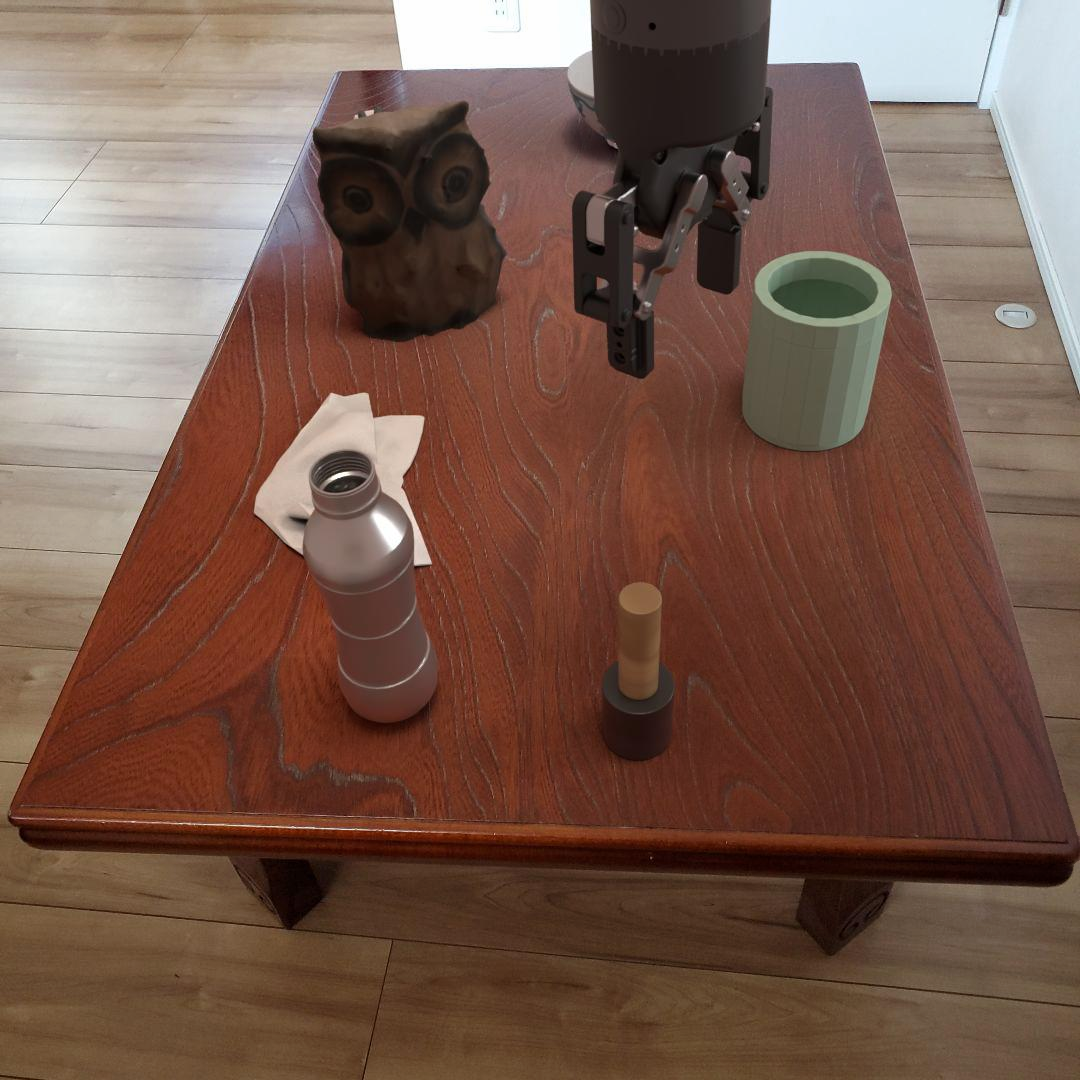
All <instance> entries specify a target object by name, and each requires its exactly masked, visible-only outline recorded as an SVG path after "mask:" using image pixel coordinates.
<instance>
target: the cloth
mask: <svg viewBox="0 0 1080 1080" xmlns="http://www.w3.org/2000/svg"><path fill="white" fill-rule="evenodd" d="M373 414H374V413H373V411H372V406H371V401H370V395H369V392H368V393H367V392H360V393H359V392H358V393H355V394H350V395H346V396H344V395H341V394H337V393H333V392H330V393H329V395H327V397H326V398H325V400H324V401H323V403H322V404H321V406H320V407H319V408H318V409H317V411H316V412H315V414H314V415H313V416H312V418H311V419H310V420H309V421H308V423H306V424H305V426H304V427H303V428H302V429H301V430H300V431H299V432H298V434H297V435H296V437H295V438H294V440H293V441H292V443H290V445H289V447H288V448H287V449H286V450H285V452H284V453H283V454H282V456H281V457H280V458H279V459H278V461H277V462H276V464H275V465H274V467H273V469H272V470H271V472H270V474H269V475H268V477H267V478H266V479H265V481H264V482H263V484H262V485H261V486H260V487H259V489H258V492H257V494H256V495H255V500H254V501H255V502H254V509H253V514H254V515H255V516H257V517H258V518H259V519H260V520H262V521H263V522H264V523H265V524H266V525H267V526H268V527H269V528H270V530H271V531H273V533H274V534H275V535H277V537H278V538H280V540H281V541H282V542H283V543H285V544H286V545H288V546H289V547H291V548H292V549H294V550H295V551H296V552H298V553H299V554H301V555H302V556H303V548H302V547H303V538H304V530H305V527H306V524H307V522H308V520H309V518H310V516H311V514H312V512H313V511H314V509H315V507H314V505H313V502H312V497H311V492H312V491H311V488H310V485H309V471H310V469H311V467H312V465H313V464H314V463H315V462H316V461H317V460H318V459H319V458H321V457H322V456H324V455H325V454H327V453H330V452H333V451H336V450H341V449H354V450H359V451H362V452H364V453H366V454H367V455H368V456H369V457H370V458H371V459H372V461H373V463H374V465H375V469H376V474H377V476H378V478H379V480H380V484H381V488H382V492H384V493H385V494H387V495H388V496H390V497H391V498H393V499H394V500H396V501H397V502H398V503H399V504H400V505H401V506H402V507H403V509H404V510H405V512H406V514H407V515H408V517H409V519H410V521H411V523H412V526H413V531H414V567H419V566H432V565H433V562H432V560H431V557H430V554H429V552H428V549H427V546H426V543H425V541H424V538H423V535H422V532H421V530H420V527H419V525H418V523H417V521H416V517H415V516H414V513H413V510H412V508H411V506H410V503H409V500H408V497H407V493H406V492H405V490H404V489H403V488H402V487H403V484H404V476H405V474H406V473H407V471H408V470H409V469H410V468H411V466H412V464H413V462H414V459H415V457H416V455H417V453H418V450H419V446H420V443H421V439H422V436H423V432H424V424H425V419H426V417H425V416H423V415H419V414H418V415H407V414H406V415H405V414H404V415H397V414H396V415H395V414H394V415H384V416H378V417H377V416H376V417H374V415H373Z"/></svg>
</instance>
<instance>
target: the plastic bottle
mask: <svg viewBox="0 0 1080 1080" xmlns="http://www.w3.org/2000/svg"><path fill="white" fill-rule="evenodd" d="M309 485H310V488H311V491H312V492H311V497H312V502H313V505H314V507H315V509H314V511H313V512H312V514H311V516H310V518H309V520H308V522H307V524H306V527H305V530H304V538H303V547H302V548H303V555H302V556H303V558H304V560H305V563H306V566H307V569H308V571H309V573H310V575H311V577H312V579H313V580H314V583H315V585H316V586H317V589H318V590H319V592H320V594H321V596H322V598H323V600H324V603H325V606H326V608H327V611H328V614H329V616H330V620H331V623H332V625H333V629H334V635H335V642H336V649H337V662H336V667H337V679H338V684H339V685H338V686H339V689H340V691H341V693H342V695H343V697H344V699H345V700H346V702H347V704H348V705H349V707H350V708H351V709H352V710H353V712H355V713H356V714H357V715H358V716H360V717H361V718H363V719H365V720H368V721H371V722H376V723H381V724H392V723H398V722H401V721H405V720H407V719H409V718H411V717H413V716H414V715H416V714H417V713H419V711H420V710H422V709H423V708H424V707H425V706H426V705H427V704H428V703H429V701H430V700H431V699H432V697H433V695H434V693H435V691H436V689H437V685H438V673H439V660H438V656H437V652H436V650H435V647H434V644H433V642H432V640H431V638H430V636H429V634H428V632H427V631H426V628H425V625H424V622H423V619H422V615H421V613H420V609H419V606H418V599H417V590H416V582H415V566H414V531H413V526H412V523H411V521H410V519H409V517H408V515H407V514H406V512H405V510H404V509H403V507H402V506H401V505H400V504H399V503H398V502H397V501H396V500H394V499H393V498H391V497H390V496H388V495H387V494H385V493H384V492H382V488H381V484H380V480H379V478H378V476H377V474H376V469H375V465H374V463H373V461H372V459H371V458H370V457H369V456H368V455H367V454H366V453H364V452H362V451H359V450H354V449H341V450H336V451H333V452H330V453H327V454H325V455H324V456H322V457H321V458H319V459H318V460H317V461H316V462H315V463H314V464H313V465H312V467H311V469H310V471H309Z"/></svg>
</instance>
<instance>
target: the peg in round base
mask: <svg viewBox="0 0 1080 1080" xmlns="http://www.w3.org/2000/svg"><path fill="white" fill-rule="evenodd" d="M662 596H663V595H662V594H661V592H660V590H659V589H658V588H657V587H656V586H655V585H654V584H651V583H648V582H644V581H637V582H631V583H629V584H627V585H625V586H624V587H623V588H622V589H621V590H620V592H619V593H618V619H617V620H618V623H617V624H618V626H617V627H618V632H617V633H618V636H617V637H618V644H617V645H618V646H617V647H618V652H617V653H618V655H617V656H618V658H617V659H618V660H617V661H615V662H613V663H612V664H611V665H610V666H609V667H608V668H607V669H606V670H605V673H604V674H603V676H602V680H601V714H602V715H601V716H602V717H601V721H602V724H601V725H602V728H601V729H602V737H603V739H604V742H605V744H606V745H607V748H609V749H610V750H611V752H613V753H614V754H615V755H617V756H619V757H621V758H623V759H627V760H630V761H644V760H650V759H653V758H655V757H657V756H658V755H660V754H661V753H663V752H664V751H665V750H666V749H667V747H668V746H669V744H670V742H671V740H672V734H673V722H674V721H673V720H674V719H673V718H674V705H675V704H674V703H675V680H674V677H673V675H672V673H671V671H670V670H669V669H668V668H667V666H666V665H664V664H663V663H662V662H660V652H661V651H660V650H661V630H662V629H661V628H662V627H661V626H662V609H663V597H662Z"/></svg>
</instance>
